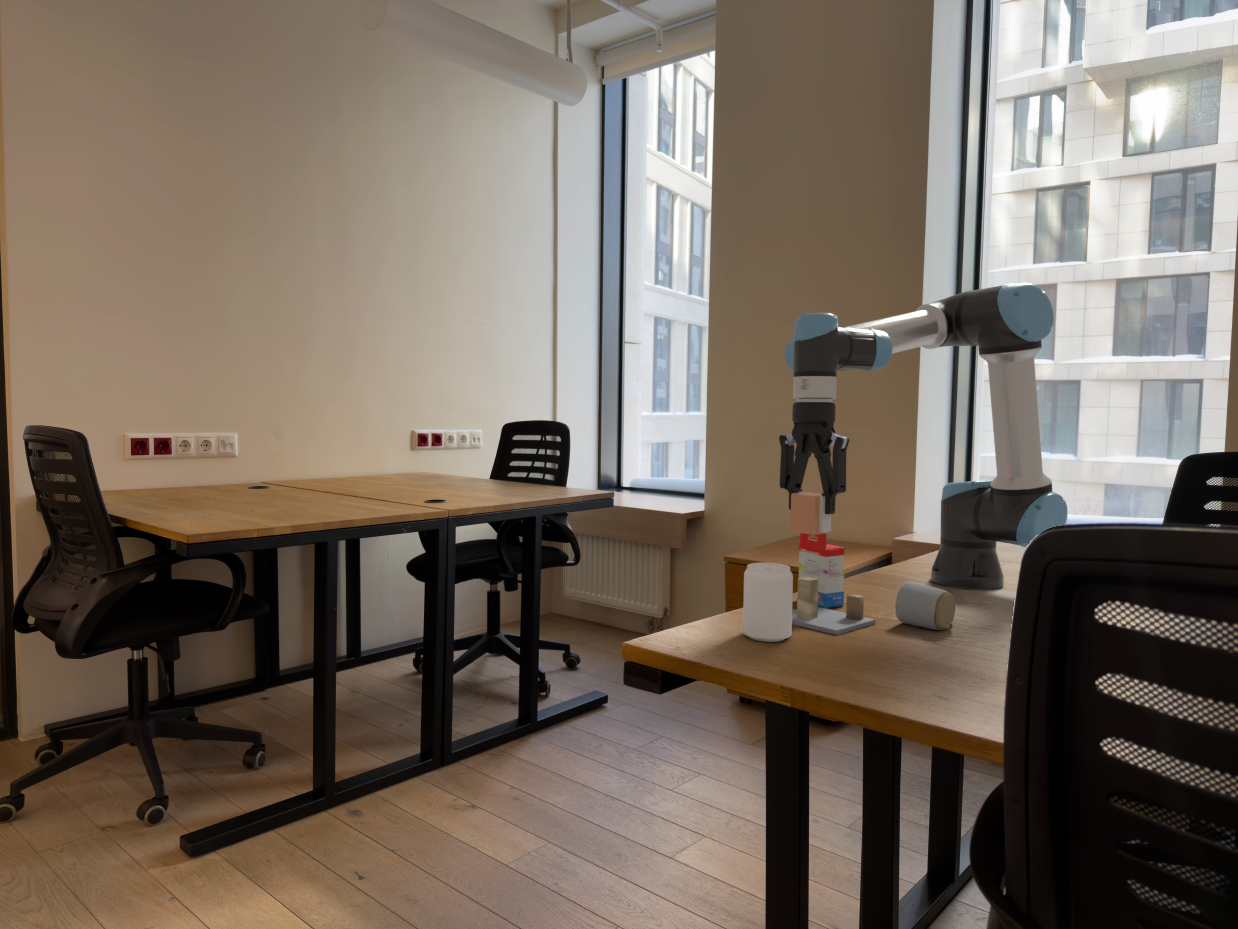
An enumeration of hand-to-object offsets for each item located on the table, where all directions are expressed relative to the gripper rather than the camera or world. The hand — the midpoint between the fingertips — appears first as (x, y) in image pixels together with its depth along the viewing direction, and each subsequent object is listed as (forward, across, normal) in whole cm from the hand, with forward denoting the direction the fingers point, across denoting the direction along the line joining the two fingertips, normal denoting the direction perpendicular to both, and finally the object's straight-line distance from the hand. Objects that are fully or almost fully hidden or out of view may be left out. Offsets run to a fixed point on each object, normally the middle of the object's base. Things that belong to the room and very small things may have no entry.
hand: (810, 530), depth 147 cm
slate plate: (+17, +2, +2) cm, 17 cm away
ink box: (+17, -7, +14) cm, 23 cm away
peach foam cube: (0, 0, 0) cm, 0 cm away
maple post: (+17, 0, 0) cm, 17 cm away
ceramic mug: (+17, +15, +15) cm, 27 cm away
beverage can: (+17, +2, -14) cm, 22 cm away
